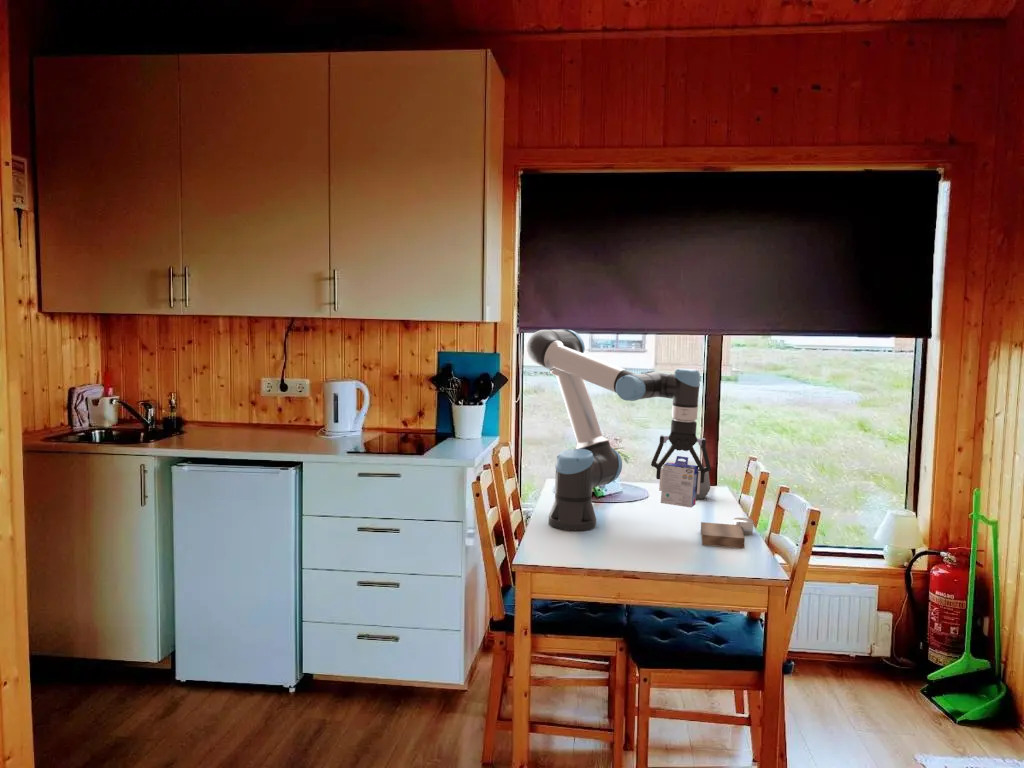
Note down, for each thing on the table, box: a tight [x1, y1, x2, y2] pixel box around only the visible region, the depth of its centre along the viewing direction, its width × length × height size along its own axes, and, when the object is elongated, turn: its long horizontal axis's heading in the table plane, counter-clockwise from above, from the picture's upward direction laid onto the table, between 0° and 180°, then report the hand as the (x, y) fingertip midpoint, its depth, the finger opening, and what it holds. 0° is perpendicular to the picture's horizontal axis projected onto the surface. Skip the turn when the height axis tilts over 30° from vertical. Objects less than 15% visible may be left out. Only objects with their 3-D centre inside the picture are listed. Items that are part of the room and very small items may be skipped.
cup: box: [696, 468, 711, 500], centre depth 295 cm, size 10×9×10 cm
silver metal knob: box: [732, 517, 754, 536], centre depth 252 cm, size 6×6×4 cm
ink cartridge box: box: [660, 455, 699, 508], centre depth 244 cm, size 10×6×14 cm, turn 65°
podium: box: [700, 521, 746, 549], centre depth 243 cm, size 12×14×3 cm
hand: (679, 491), depth 245 cm, fingers closed on ink cartridge box, 10 cm apart
